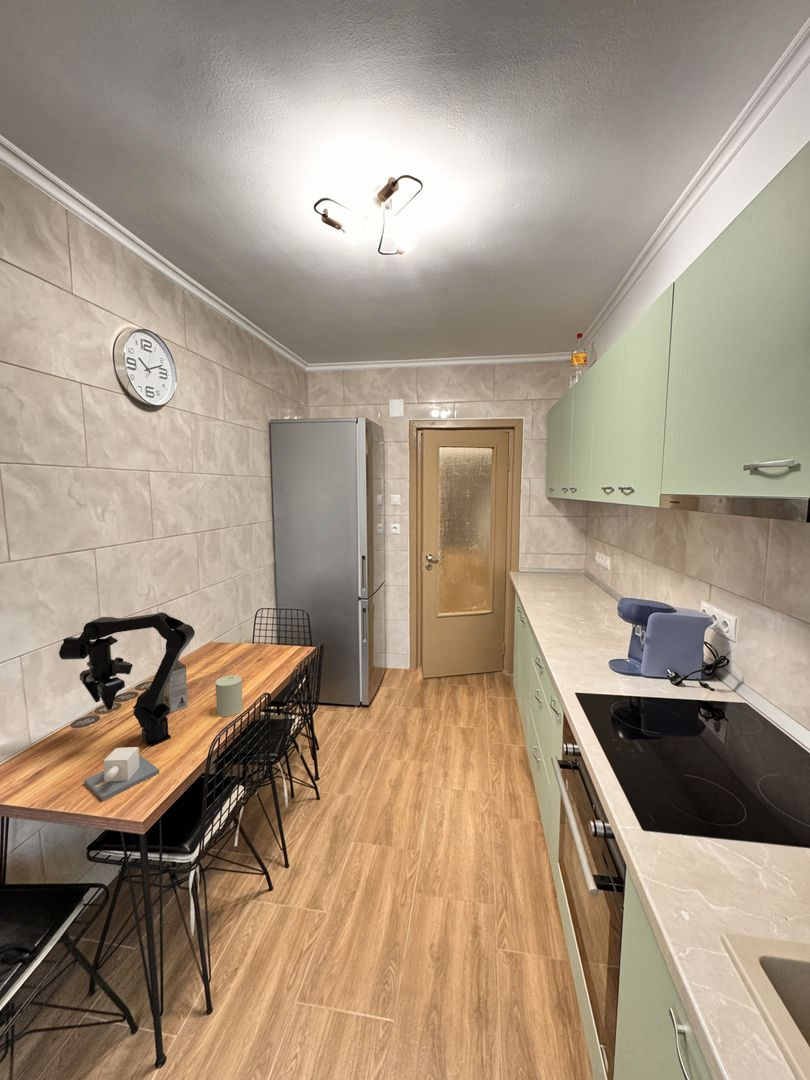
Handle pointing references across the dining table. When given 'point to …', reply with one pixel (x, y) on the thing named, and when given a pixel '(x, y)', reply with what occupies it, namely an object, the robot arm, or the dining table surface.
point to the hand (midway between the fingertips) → (103, 705)
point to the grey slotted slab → (115, 787)
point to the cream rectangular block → (121, 764)
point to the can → (229, 695)
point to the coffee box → (176, 689)
